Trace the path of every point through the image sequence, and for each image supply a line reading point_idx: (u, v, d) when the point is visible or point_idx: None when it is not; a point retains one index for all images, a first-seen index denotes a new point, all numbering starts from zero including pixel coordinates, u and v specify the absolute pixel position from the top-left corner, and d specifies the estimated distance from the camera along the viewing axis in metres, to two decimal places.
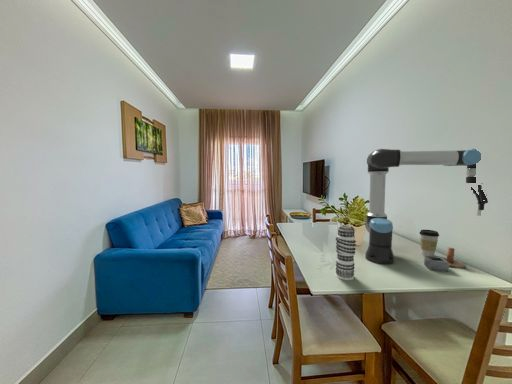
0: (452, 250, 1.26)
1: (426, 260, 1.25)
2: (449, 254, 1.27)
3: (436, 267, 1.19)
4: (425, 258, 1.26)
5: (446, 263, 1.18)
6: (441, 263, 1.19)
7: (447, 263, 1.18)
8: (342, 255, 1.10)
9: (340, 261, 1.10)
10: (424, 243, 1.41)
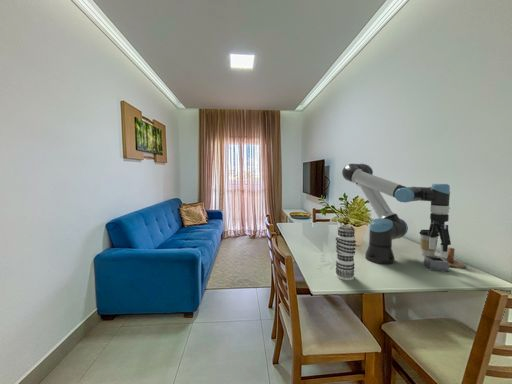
0: (452, 250, 1.26)
1: (426, 260, 1.25)
2: (449, 254, 1.27)
3: (436, 267, 1.19)
4: (425, 258, 1.26)
5: (446, 263, 1.18)
6: (441, 263, 1.19)
7: (447, 263, 1.18)
8: (342, 255, 1.10)
9: (340, 261, 1.10)
10: (424, 243, 1.41)
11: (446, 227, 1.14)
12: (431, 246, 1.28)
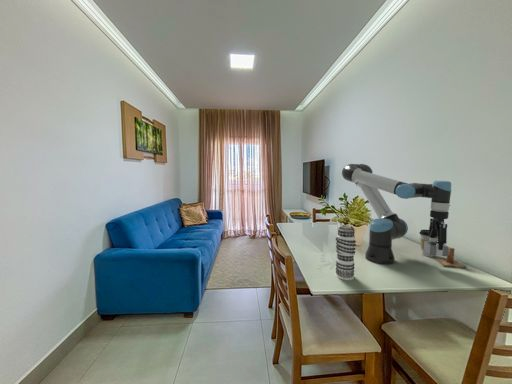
0: (452, 250, 1.26)
1: (426, 245, 1.25)
2: (449, 254, 1.27)
3: None
4: (425, 243, 1.26)
5: (446, 248, 1.18)
6: None
7: (447, 248, 1.18)
8: (342, 255, 1.10)
9: (340, 261, 1.10)
10: None
11: (445, 226, 1.15)
12: None
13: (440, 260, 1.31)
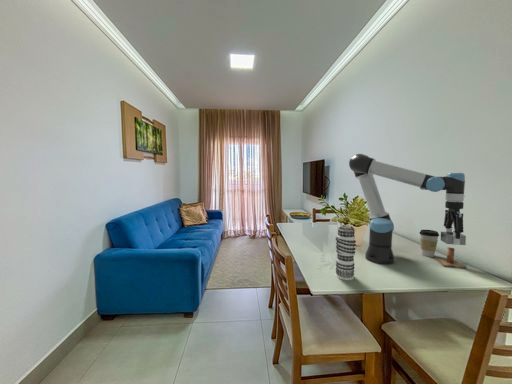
0: (452, 250, 1.26)
1: (443, 235, 1.29)
2: (449, 254, 1.27)
3: None
4: (442, 233, 1.31)
5: (463, 237, 1.22)
6: None
7: (464, 236, 1.22)
8: (342, 255, 1.10)
9: (340, 261, 1.10)
10: (424, 243, 1.41)
11: (461, 216, 1.20)
12: None
13: (440, 260, 1.31)
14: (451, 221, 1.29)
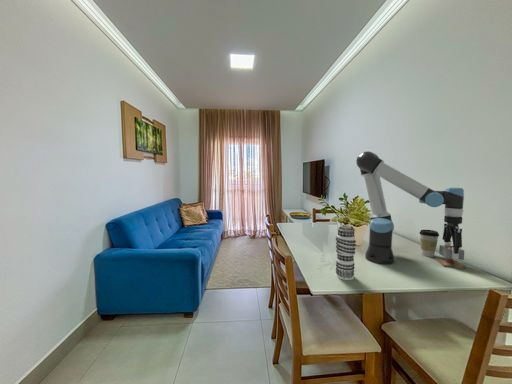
0: None
1: (441, 249, 1.30)
2: None
3: None
4: (440, 247, 1.31)
5: (461, 251, 1.23)
6: None
7: (462, 251, 1.23)
8: (342, 255, 1.10)
9: (340, 261, 1.10)
10: (424, 243, 1.41)
11: (460, 231, 1.20)
12: None
13: (440, 260, 1.31)
14: (450, 235, 1.30)
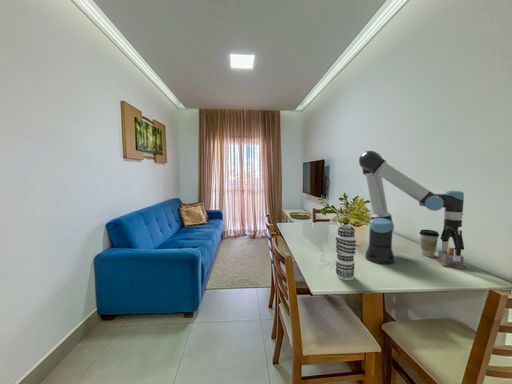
0: (452, 250, 1.26)
1: (441, 255, 1.30)
2: (449, 254, 1.27)
3: (451, 261, 1.25)
4: (440, 253, 1.32)
5: (461, 257, 1.23)
6: None
7: (462, 257, 1.23)
8: (342, 255, 1.10)
9: (340, 261, 1.10)
10: (424, 243, 1.41)
11: (460, 232, 1.20)
12: (444, 250, 1.34)
13: None
14: (448, 236, 1.31)
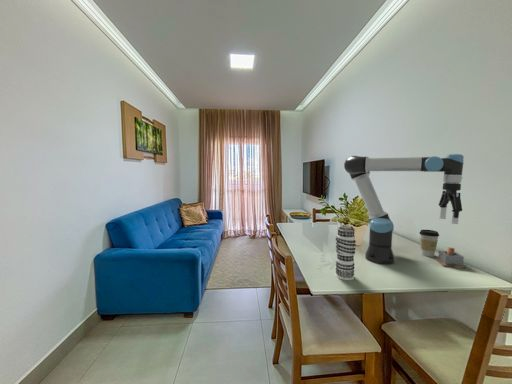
0: (452, 250, 1.26)
1: (441, 255, 1.30)
2: (449, 254, 1.27)
3: (451, 261, 1.25)
4: (440, 253, 1.32)
5: (461, 257, 1.23)
6: (456, 257, 1.24)
7: (462, 257, 1.23)
8: (342, 255, 1.10)
9: (340, 261, 1.10)
10: (424, 243, 1.41)
11: (458, 195, 1.20)
12: (441, 216, 1.34)
13: None
14: (446, 202, 1.31)
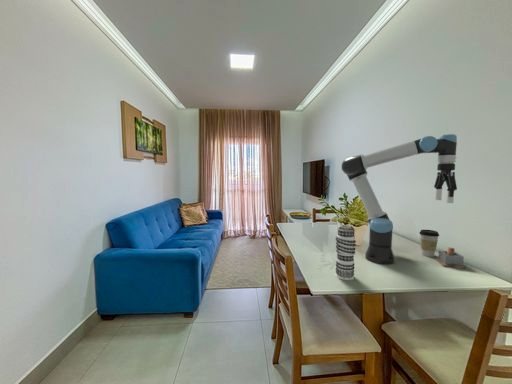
0: (452, 250, 1.26)
1: (441, 255, 1.30)
2: (449, 254, 1.27)
3: (451, 261, 1.25)
4: (440, 253, 1.32)
5: (461, 257, 1.23)
6: (456, 257, 1.24)
7: (462, 257, 1.23)
8: (342, 255, 1.10)
9: (340, 261, 1.10)
10: (424, 243, 1.41)
11: (453, 174, 1.21)
12: (437, 197, 1.35)
13: None
14: (442, 183, 1.32)
